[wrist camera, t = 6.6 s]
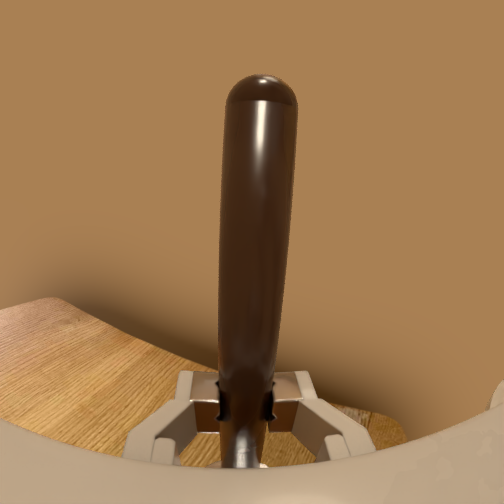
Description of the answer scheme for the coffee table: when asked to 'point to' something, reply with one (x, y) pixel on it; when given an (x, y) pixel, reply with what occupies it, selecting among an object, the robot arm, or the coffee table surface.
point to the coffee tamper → (252, 258)
